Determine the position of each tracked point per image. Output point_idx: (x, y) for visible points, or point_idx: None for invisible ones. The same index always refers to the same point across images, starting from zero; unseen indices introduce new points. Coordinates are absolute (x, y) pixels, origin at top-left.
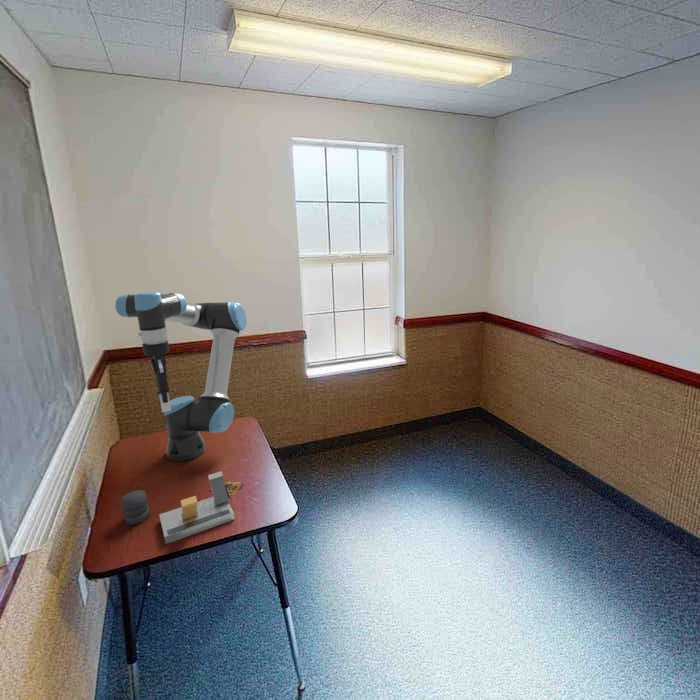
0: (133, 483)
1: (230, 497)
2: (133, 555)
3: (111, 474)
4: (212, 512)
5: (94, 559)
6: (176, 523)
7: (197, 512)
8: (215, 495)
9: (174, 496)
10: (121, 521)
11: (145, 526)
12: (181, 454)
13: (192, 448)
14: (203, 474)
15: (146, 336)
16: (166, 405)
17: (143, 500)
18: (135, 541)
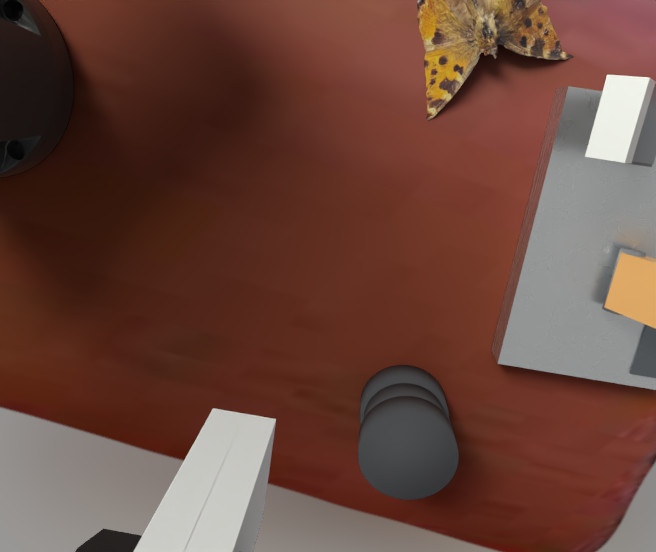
0: (138, 355)
1: (565, 59)
2: (607, 464)
3: (8, 402)
4: None
5: (527, 547)
6: (614, 332)
7: (644, 252)
8: (648, 154)
9: (358, 257)
10: None
11: (478, 397)
12: (43, 127)
13: (31, 60)
14: (265, 86)
15: None
16: (252, 524)
17: (449, 426)
18: (538, 442)
